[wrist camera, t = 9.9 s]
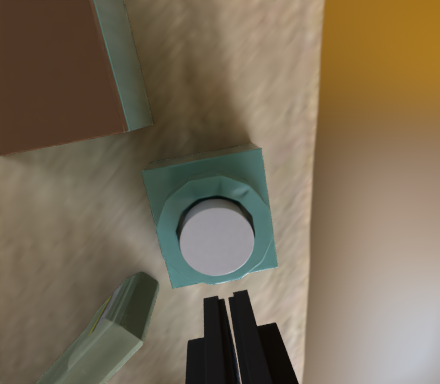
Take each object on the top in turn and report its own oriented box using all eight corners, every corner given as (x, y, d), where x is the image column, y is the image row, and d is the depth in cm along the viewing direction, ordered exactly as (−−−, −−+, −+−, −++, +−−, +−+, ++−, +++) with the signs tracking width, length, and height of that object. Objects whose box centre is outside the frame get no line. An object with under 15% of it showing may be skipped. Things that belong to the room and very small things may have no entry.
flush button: (174, 206, 18) (171, 216, 16) (243, 192, 18) (248, 200, 16) (189, 267, 19) (188, 282, 17) (253, 254, 19) (259, 268, 17)
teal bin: (-98, -73, 16) (-344, -228, 9) (98, -107, 17) (17, -285, 9) (-4, 154, 20) (-122, 179, 13) (154, 124, 21) (129, 130, 13)
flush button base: (149, 163, 21) (134, 177, 16) (252, 142, 21) (268, 151, 17) (175, 266, 24) (170, 305, 19) (268, 247, 24) (285, 281, 19)
